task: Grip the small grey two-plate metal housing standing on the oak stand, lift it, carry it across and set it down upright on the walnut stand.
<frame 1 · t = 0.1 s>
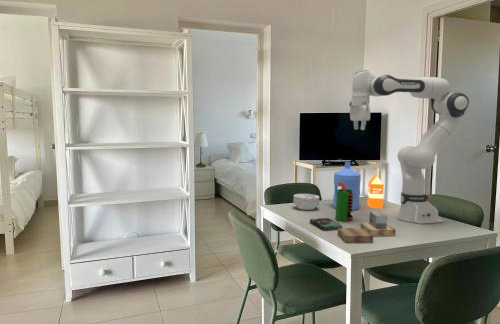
hand: (359, 129, 196), 48 cm above the table, tool pointing down, fingers open, 8 cm apart
water jug: (346, 207, 230), on the table
stand a: (377, 232, 179), on the table
stand b: (354, 238, 169), on the table
paper bowls: (306, 208, 226), on the table
motor: (343, 220, 201), on the table
disk drive: (325, 227, 189), on the table
housing: (377, 226, 179), point 3 cm above the table, touching stand a
orange juice: (374, 206, 234), on the table
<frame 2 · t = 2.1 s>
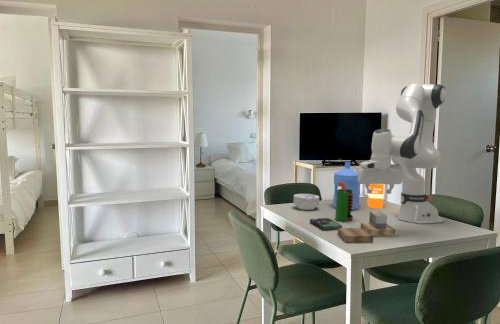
hand: (379, 193, 177), 19 cm above the table, tool pointing down, fingers open, 8 cm apart
nothing on the table moved.
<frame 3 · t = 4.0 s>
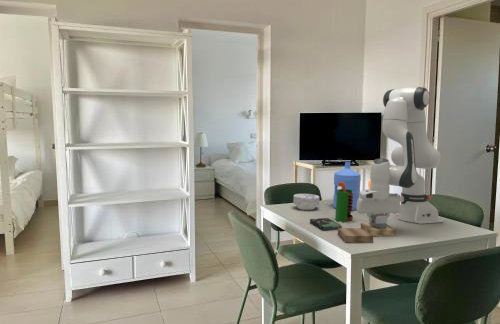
hand: (377, 222, 178), 5 cm above the table, tool pointing down, fingers closed on housing, 5 cm apart
housing: (377, 226, 179), point 3 cm above the table, touching gripper, stand a
everything else where it was.
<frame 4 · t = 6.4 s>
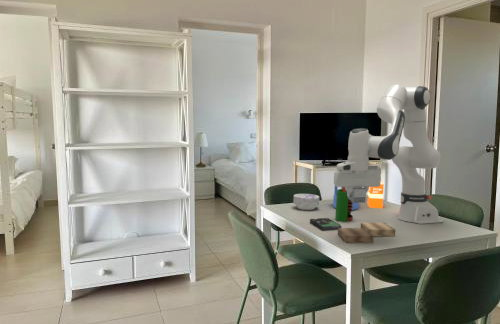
hand: (356, 196, 167), 19 cm above the table, tool pointing down, fingers closed on housing, 5 cm apart
housing: (356, 200, 167), point 17 cm above the table, touching gripper
everything else where it was.
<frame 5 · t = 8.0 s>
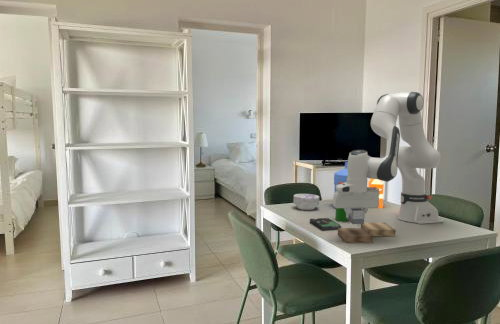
hand: (355, 217, 168), 9 cm above the table, tool pointing down, fingers closed on housing, 5 cm apart
housing: (355, 221, 168), point 8 cm above the table, touching gripper
everything else where it was.
when the fingers open (7 cm above the table, at t = 9.1 s): housing drops 2 cm, resting on stand b.
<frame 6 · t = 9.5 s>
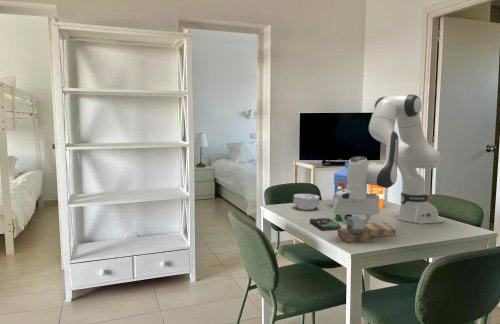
hand: (355, 224, 168), 7 cm above the table, tool pointing down, fingers open, 8 cm apart
housing: (355, 231, 169), point 3 cm above the table, touching stand b
everything else where it was.
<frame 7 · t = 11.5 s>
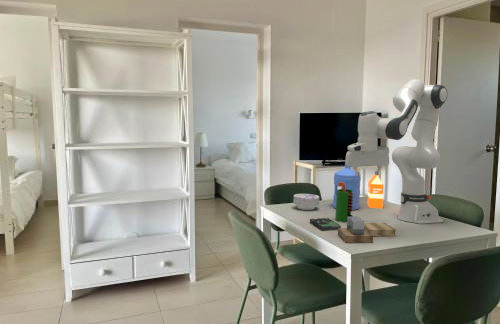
hand: (367, 175, 179), 27 cm above the table, tool pointing down, fingers open, 8 cm apart
nothing on the table moved.
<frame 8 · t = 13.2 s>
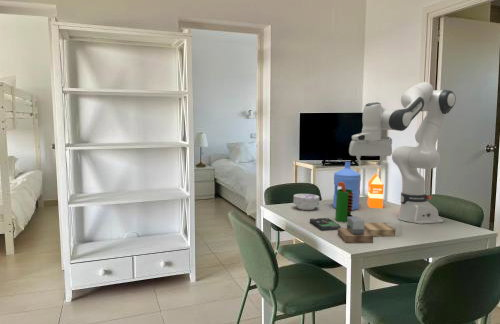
hand: (369, 165, 183), 31 cm above the table, tool pointing down, fingers open, 8 cm apart
nothing on the table moved.
at the end: housing inside the target area on the stand b (0.1 cm from its centre), point 3.0 cm above the stand b's base; housing tilted 0°; the gripper is holding nothing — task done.
